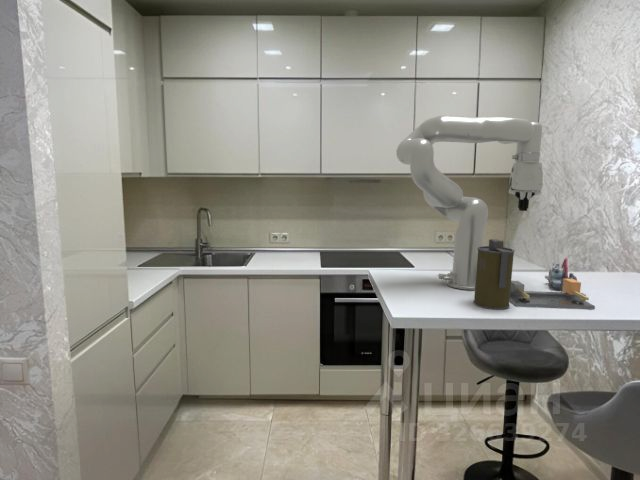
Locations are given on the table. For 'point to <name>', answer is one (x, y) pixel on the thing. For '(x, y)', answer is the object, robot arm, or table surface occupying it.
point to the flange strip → (551, 303)
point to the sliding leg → (573, 288)
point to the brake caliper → (559, 275)
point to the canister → (493, 275)
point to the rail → (547, 295)
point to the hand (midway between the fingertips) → (522, 210)
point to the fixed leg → (518, 289)
